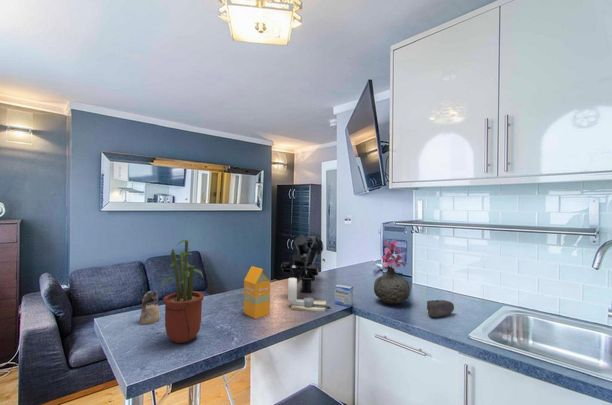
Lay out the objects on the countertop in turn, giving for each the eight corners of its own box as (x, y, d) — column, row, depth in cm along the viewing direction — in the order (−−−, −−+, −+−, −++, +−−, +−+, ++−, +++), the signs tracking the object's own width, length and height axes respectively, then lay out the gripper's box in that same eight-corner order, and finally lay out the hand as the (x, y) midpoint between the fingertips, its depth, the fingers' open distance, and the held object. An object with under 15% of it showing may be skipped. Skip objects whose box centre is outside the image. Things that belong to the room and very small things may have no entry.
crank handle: (329, 305, 133) (329, 280, 133) (327, 309, 129) (327, 283, 129) (289, 301, 138) (290, 277, 138) (286, 304, 134) (287, 279, 134)
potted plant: (207, 341, 100) (209, 240, 100) (157, 354, 91) (159, 243, 91) (194, 324, 114) (196, 235, 115) (150, 333, 105) (151, 237, 106)
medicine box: (334, 304, 140) (334, 286, 140) (337, 301, 144) (338, 283, 144) (349, 307, 136) (350, 288, 136) (353, 304, 140) (353, 286, 140)
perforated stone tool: (449, 311, 132) (449, 296, 133) (458, 316, 128) (458, 300, 128) (422, 315, 128) (422, 299, 128) (430, 320, 123) (431, 303, 123)
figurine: (146, 317, 120) (146, 288, 121) (163, 317, 120) (163, 288, 120) (135, 324, 113) (136, 293, 113) (153, 324, 113) (154, 294, 113)
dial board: (294, 301, 143) (294, 298, 143) (332, 303, 141) (332, 300, 141) (290, 309, 131) (290, 307, 131) (332, 312, 129) (332, 309, 129)
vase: (416, 304, 142) (417, 242, 142) (395, 312, 131) (396, 245, 131) (387, 295, 155) (387, 238, 155) (365, 301, 144) (366, 241, 144)
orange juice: (258, 308, 132) (258, 264, 132) (269, 314, 126) (270, 268, 126) (243, 313, 127) (243, 267, 127) (254, 318, 120) (255, 270, 121)
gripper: (282, 246, 149) (273, 273, 138) (317, 248, 144) (311, 276, 133) (286, 259, 156) (279, 285, 145) (320, 261, 151) (315, 288, 141)
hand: (295, 283), depth 141 cm, fingers closed
